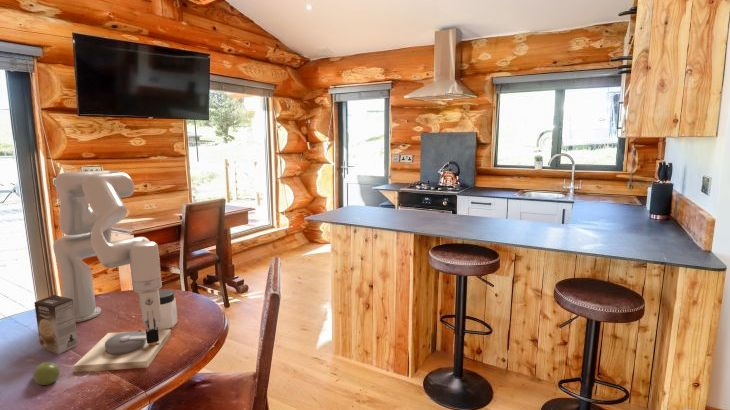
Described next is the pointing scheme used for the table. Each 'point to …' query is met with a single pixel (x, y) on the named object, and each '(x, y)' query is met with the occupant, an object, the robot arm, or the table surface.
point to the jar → (167, 310)
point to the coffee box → (56, 323)
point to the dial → (126, 342)
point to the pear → (46, 373)
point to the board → (120, 355)
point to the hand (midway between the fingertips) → (152, 341)
